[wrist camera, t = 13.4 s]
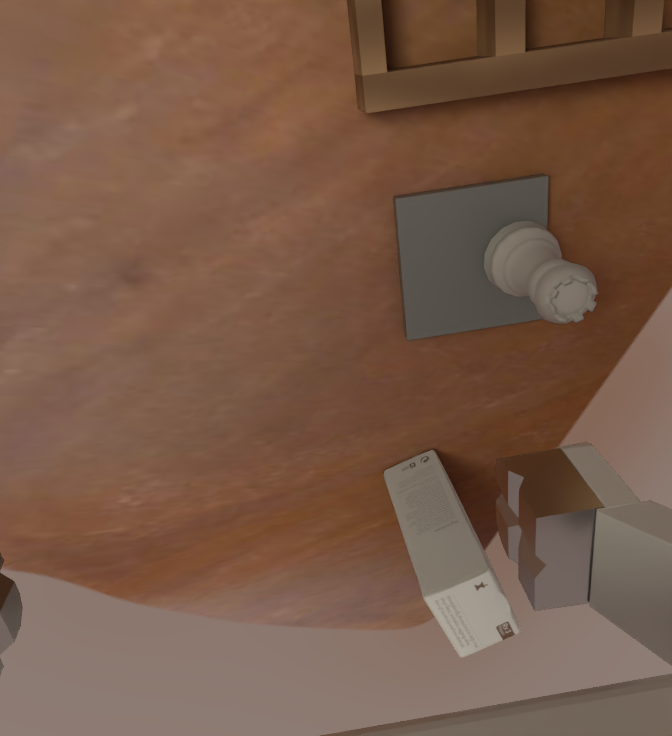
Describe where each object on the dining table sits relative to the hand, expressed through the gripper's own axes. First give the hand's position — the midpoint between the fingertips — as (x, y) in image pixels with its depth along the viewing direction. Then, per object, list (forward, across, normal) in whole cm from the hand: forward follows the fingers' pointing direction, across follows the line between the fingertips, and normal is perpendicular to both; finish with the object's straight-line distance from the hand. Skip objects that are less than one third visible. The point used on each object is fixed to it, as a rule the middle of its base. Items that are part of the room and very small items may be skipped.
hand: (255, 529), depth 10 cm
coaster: (+29, -12, +6) cm, 32 cm away
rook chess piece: (+28, -15, +6) cm, 33 cm away
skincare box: (+29, -8, +23) cm, 38 cm away
